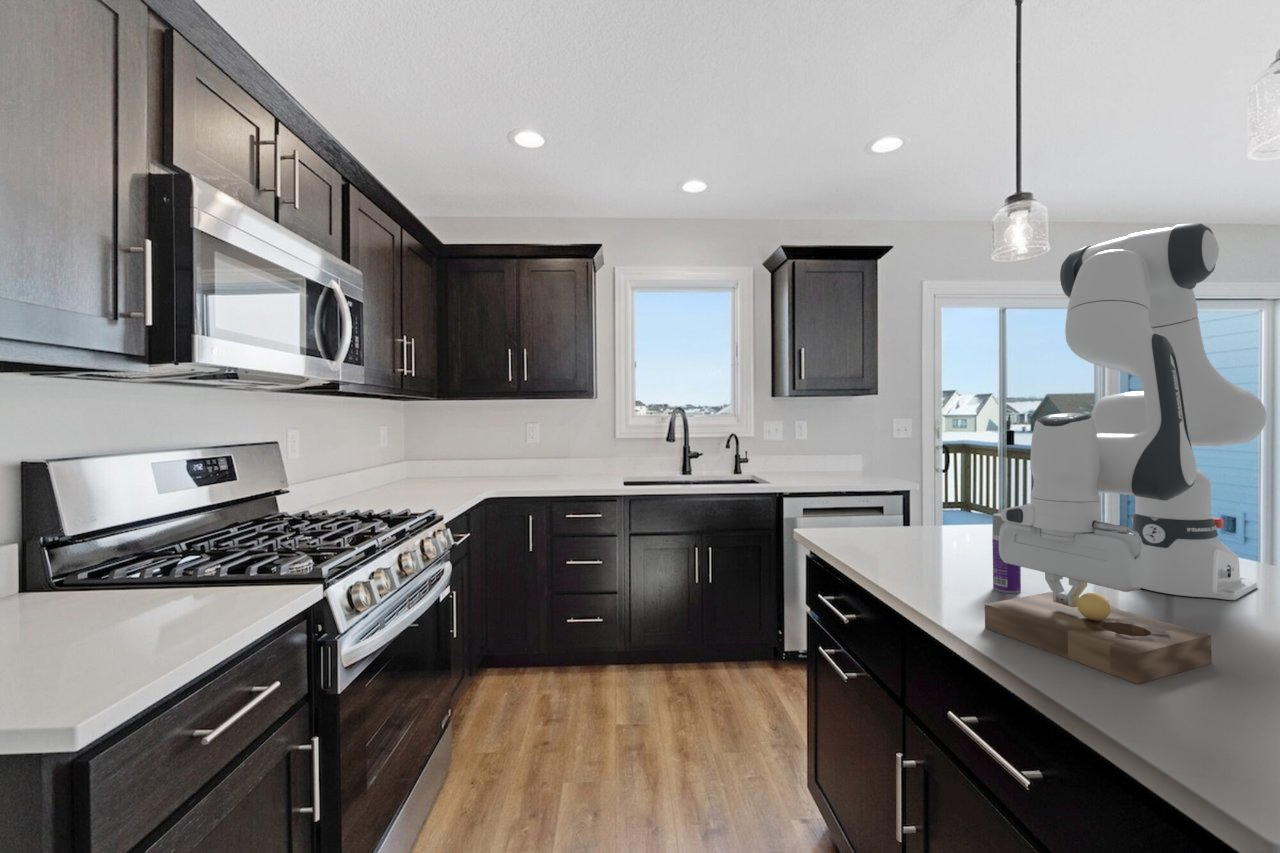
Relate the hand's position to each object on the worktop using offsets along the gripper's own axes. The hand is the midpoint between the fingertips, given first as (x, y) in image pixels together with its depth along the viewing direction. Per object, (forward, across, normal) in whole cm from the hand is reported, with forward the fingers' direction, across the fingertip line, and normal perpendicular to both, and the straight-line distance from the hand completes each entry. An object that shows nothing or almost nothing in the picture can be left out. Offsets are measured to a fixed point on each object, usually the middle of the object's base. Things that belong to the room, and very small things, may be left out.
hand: (1065, 604), depth 92 cm
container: (+5, +21, -14) cm, 26 cm away
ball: (-1, -4, 0) cm, 4 cm away
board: (+5, -3, 0) cm, 6 cm away
